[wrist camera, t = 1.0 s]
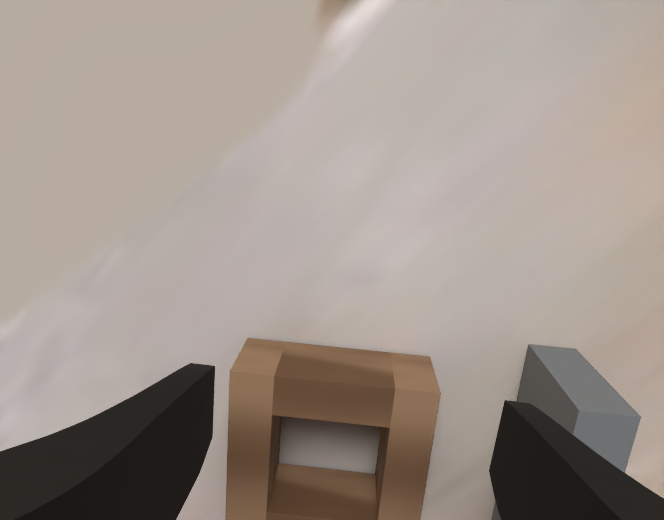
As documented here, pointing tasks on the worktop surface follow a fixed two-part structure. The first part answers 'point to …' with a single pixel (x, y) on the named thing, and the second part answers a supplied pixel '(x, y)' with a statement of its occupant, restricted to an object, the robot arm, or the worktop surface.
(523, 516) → the robot arm
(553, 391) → the board
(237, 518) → the brown square frame
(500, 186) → the worktop surface
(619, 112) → the worktop surface
